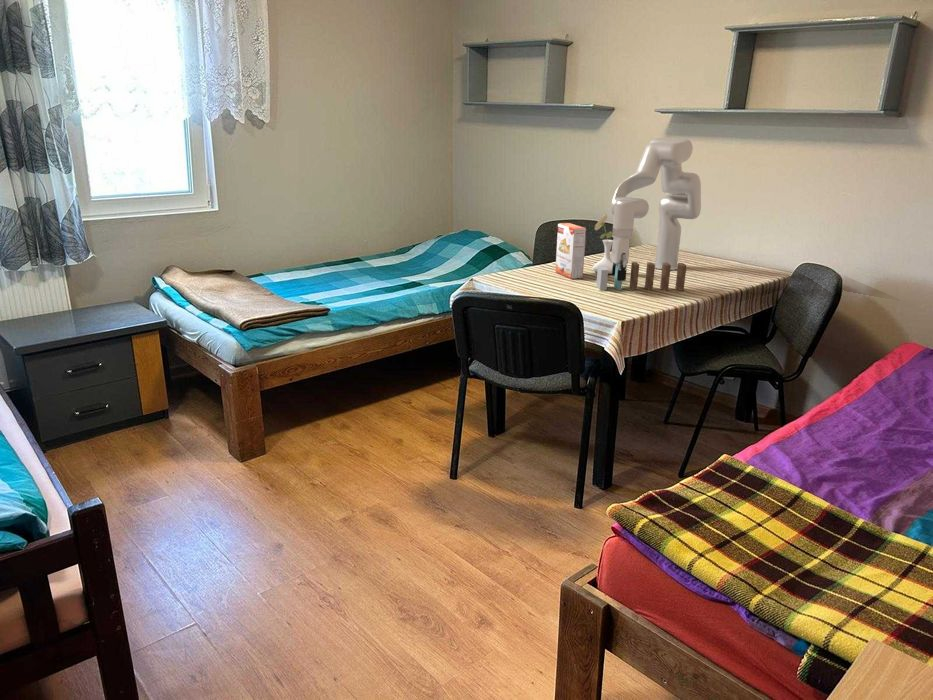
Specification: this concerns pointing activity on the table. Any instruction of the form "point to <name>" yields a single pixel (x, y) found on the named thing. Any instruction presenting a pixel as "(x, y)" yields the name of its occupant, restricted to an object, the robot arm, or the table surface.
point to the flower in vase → (607, 244)
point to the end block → (602, 277)
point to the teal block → (617, 283)
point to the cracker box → (570, 250)
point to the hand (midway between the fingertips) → (618, 277)
